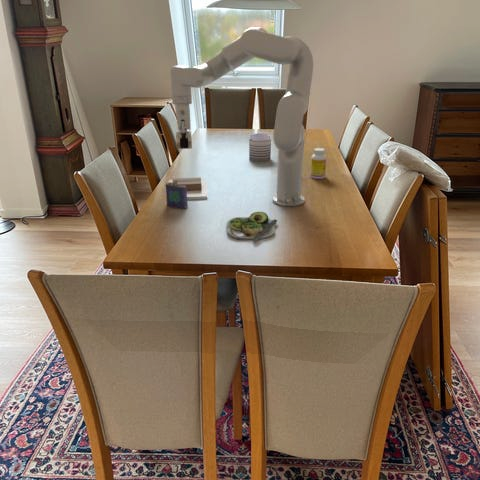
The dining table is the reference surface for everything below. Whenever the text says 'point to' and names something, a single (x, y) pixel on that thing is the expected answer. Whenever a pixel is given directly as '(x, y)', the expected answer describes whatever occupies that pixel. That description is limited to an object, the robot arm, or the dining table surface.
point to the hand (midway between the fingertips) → (184, 145)
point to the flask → (176, 195)
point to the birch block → (187, 137)
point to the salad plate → (252, 226)
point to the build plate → (197, 192)
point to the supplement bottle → (318, 164)
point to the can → (260, 148)
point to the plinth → (190, 183)
